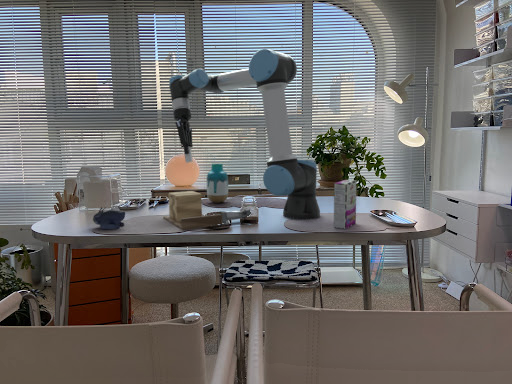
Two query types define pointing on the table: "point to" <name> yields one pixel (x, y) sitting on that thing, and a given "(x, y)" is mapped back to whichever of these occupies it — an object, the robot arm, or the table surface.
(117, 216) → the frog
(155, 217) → the table surface
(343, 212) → the candy bar box
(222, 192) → the vase
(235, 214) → the winch
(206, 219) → the brown flat slab
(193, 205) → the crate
